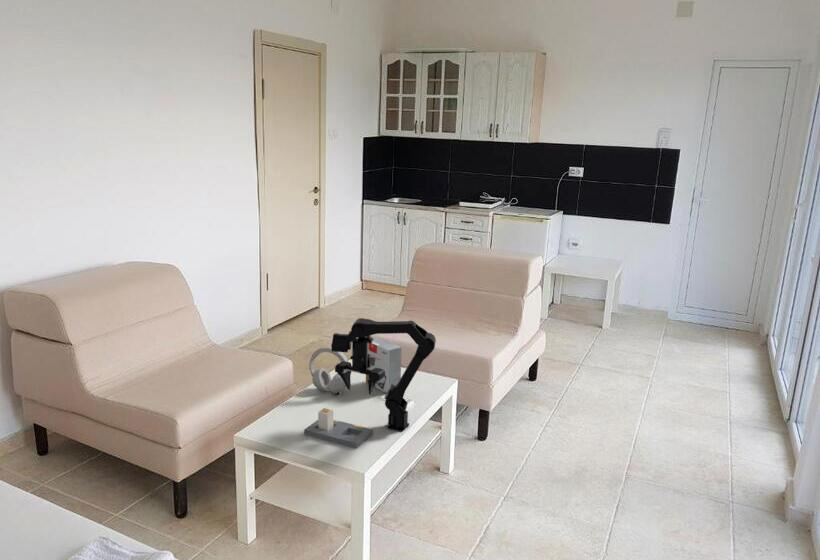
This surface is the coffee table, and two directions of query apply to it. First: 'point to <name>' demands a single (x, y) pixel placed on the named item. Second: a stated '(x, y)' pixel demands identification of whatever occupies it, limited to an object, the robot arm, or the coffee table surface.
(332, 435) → the panel
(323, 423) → the plug
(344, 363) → the robot arm
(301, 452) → the coffee table surface
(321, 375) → the headphones
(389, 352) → the hard drive box
